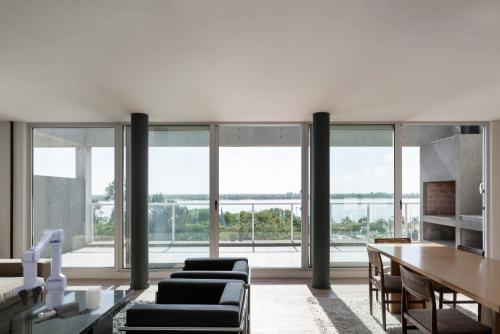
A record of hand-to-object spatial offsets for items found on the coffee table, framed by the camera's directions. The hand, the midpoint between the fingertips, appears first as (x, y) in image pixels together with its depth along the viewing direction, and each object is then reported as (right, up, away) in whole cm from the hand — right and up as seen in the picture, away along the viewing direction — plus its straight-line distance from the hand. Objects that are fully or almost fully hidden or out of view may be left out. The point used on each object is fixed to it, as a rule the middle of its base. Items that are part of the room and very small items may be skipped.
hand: (30, 304), depth 182 cm
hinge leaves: (+10, -10, +16) cm, 21 cm away
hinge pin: (+7, -10, +10) cm, 15 cm away
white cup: (+21, -11, +24) cm, 34 cm away
